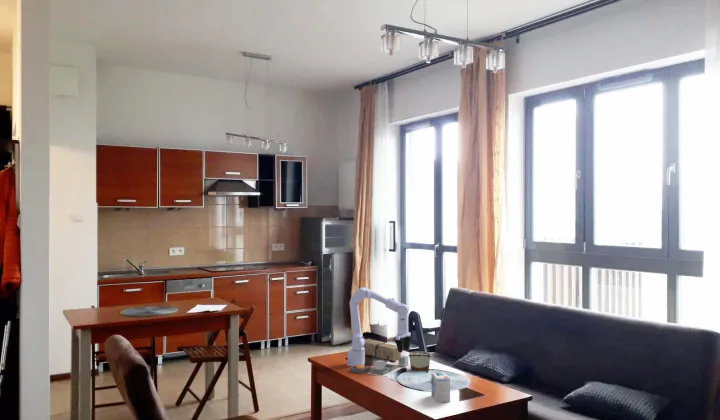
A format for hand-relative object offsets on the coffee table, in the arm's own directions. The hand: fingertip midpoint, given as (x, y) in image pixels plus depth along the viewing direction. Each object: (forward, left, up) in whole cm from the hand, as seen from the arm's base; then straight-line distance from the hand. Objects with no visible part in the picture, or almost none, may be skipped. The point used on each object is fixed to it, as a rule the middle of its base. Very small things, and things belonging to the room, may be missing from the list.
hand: (403, 350), depth 316 cm
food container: (+11, -2, -10) cm, 15 cm away
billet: (0, 0, -9) cm, 9 cm away
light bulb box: (+40, -42, -10) cm, 59 cm away
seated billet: (-4, -20, -8) cm, 22 cm away
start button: (-15, -22, -8) cm, 28 cm away
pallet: (-4, -15, -9) cm, 18 cm away
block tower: (-24, +18, -10) cm, 32 cm away
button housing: (-15, -22, -9) cm, 28 cm away
